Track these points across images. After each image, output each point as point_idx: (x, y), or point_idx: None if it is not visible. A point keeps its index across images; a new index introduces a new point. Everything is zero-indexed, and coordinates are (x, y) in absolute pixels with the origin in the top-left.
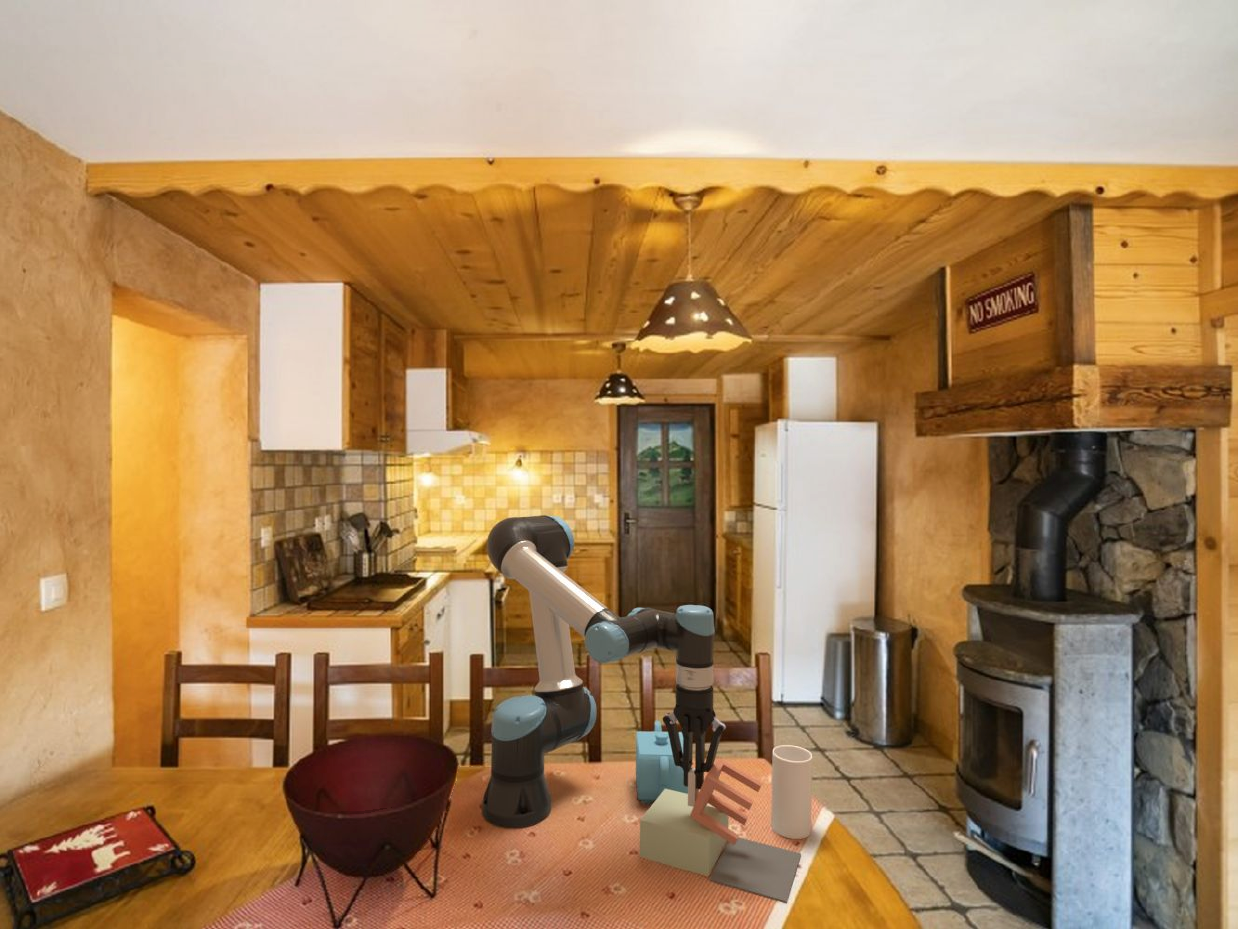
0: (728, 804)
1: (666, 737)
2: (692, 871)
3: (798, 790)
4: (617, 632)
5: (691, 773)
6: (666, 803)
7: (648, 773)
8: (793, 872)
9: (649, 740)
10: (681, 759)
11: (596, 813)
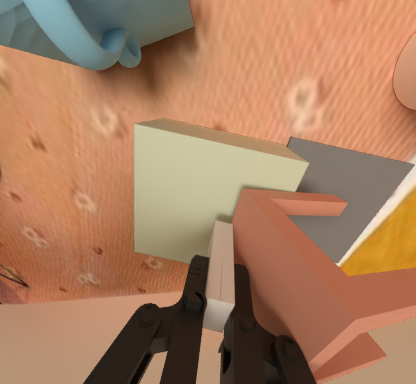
0: (308, 203)
1: None
2: None
3: None
4: None
5: (208, 328)
6: (159, 194)
7: (49, 40)
8: (373, 215)
9: None
10: (153, 349)
11: (47, 120)
